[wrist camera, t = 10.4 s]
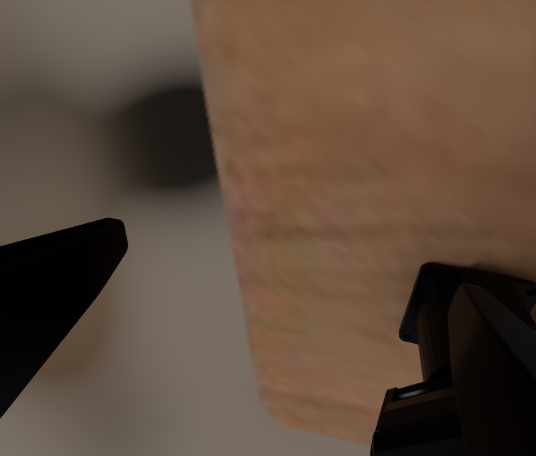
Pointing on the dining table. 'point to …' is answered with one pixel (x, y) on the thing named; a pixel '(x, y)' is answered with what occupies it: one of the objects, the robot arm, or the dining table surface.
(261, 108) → the dining table surface
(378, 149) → the dining table surface
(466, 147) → the dining table surface
